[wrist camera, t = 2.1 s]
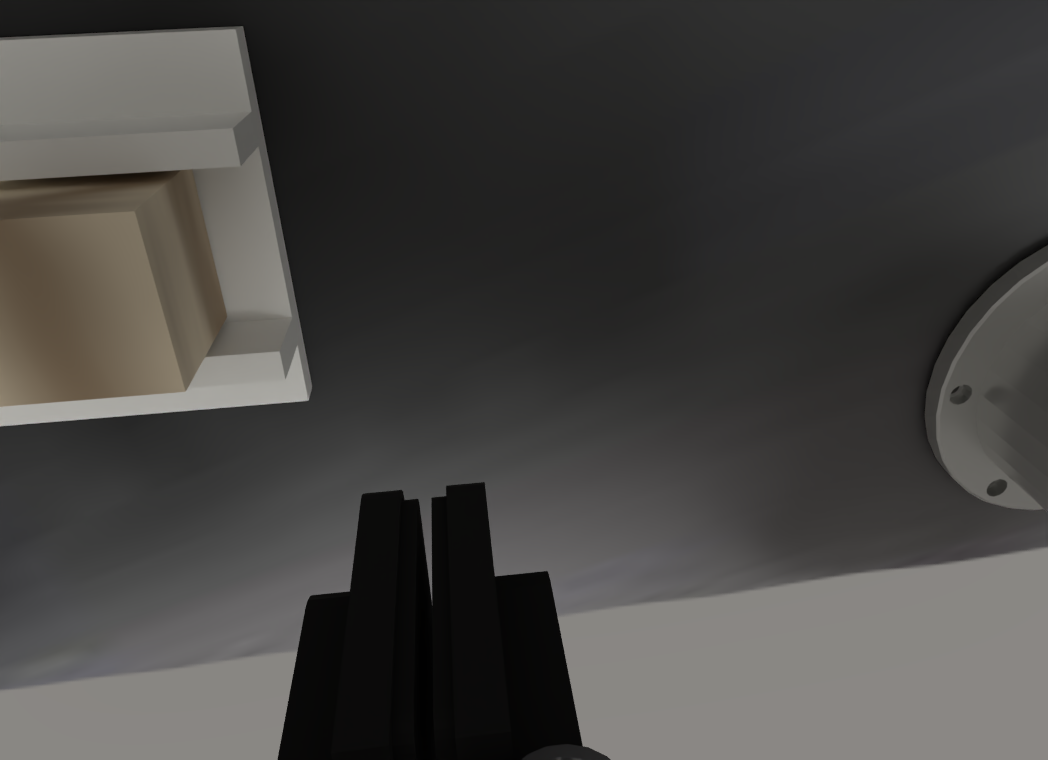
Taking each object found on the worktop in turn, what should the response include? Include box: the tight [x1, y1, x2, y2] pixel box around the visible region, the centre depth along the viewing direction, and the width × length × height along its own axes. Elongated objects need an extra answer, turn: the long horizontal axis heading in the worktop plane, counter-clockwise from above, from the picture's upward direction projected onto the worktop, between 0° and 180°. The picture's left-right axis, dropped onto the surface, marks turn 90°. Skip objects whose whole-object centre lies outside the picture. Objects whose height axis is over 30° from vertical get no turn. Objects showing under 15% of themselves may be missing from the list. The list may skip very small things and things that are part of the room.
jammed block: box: [0, 169, 227, 407], centre depth 22 cm, size 5×5×5 cm
